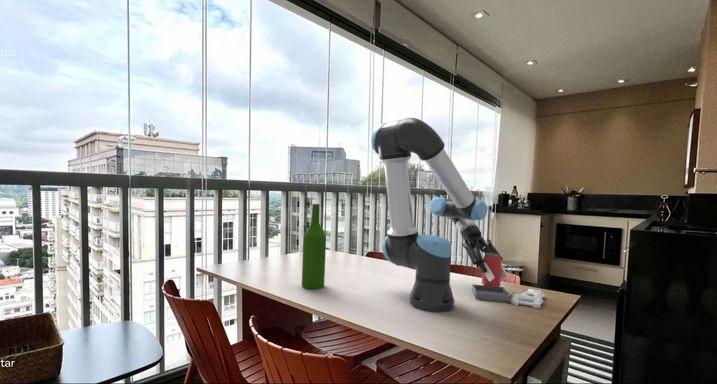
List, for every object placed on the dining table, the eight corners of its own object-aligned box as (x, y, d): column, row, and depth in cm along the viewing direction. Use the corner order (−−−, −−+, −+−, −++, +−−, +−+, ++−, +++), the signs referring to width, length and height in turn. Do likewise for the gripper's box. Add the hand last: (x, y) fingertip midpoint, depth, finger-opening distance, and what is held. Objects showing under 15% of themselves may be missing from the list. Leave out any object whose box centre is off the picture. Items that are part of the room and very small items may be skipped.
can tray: (475, 299, 126) (476, 292, 126) (471, 290, 137) (472, 284, 137) (510, 302, 123) (510, 295, 123) (503, 293, 135) (503, 287, 135)
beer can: (503, 286, 130) (505, 254, 130) (494, 288, 126) (495, 256, 126) (488, 282, 135) (489, 252, 135) (478, 284, 131) (479, 253, 131)
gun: (517, 284, 136) (546, 289, 131) (517, 292, 137) (545, 298, 131) (510, 297, 121) (541, 304, 116) (509, 307, 121) (541, 314, 116)
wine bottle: (315, 281, 142) (318, 203, 142) (328, 286, 135) (331, 204, 135) (297, 285, 136) (300, 203, 136) (310, 290, 129) (313, 204, 129)
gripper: (480, 234, 149) (511, 281, 134) (445, 236, 140) (474, 286, 125) (490, 223, 144) (523, 271, 129) (455, 224, 135) (485, 275, 121)
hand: (499, 278), depth 127 cm, fingers closed on beer can, 6 cm apart
